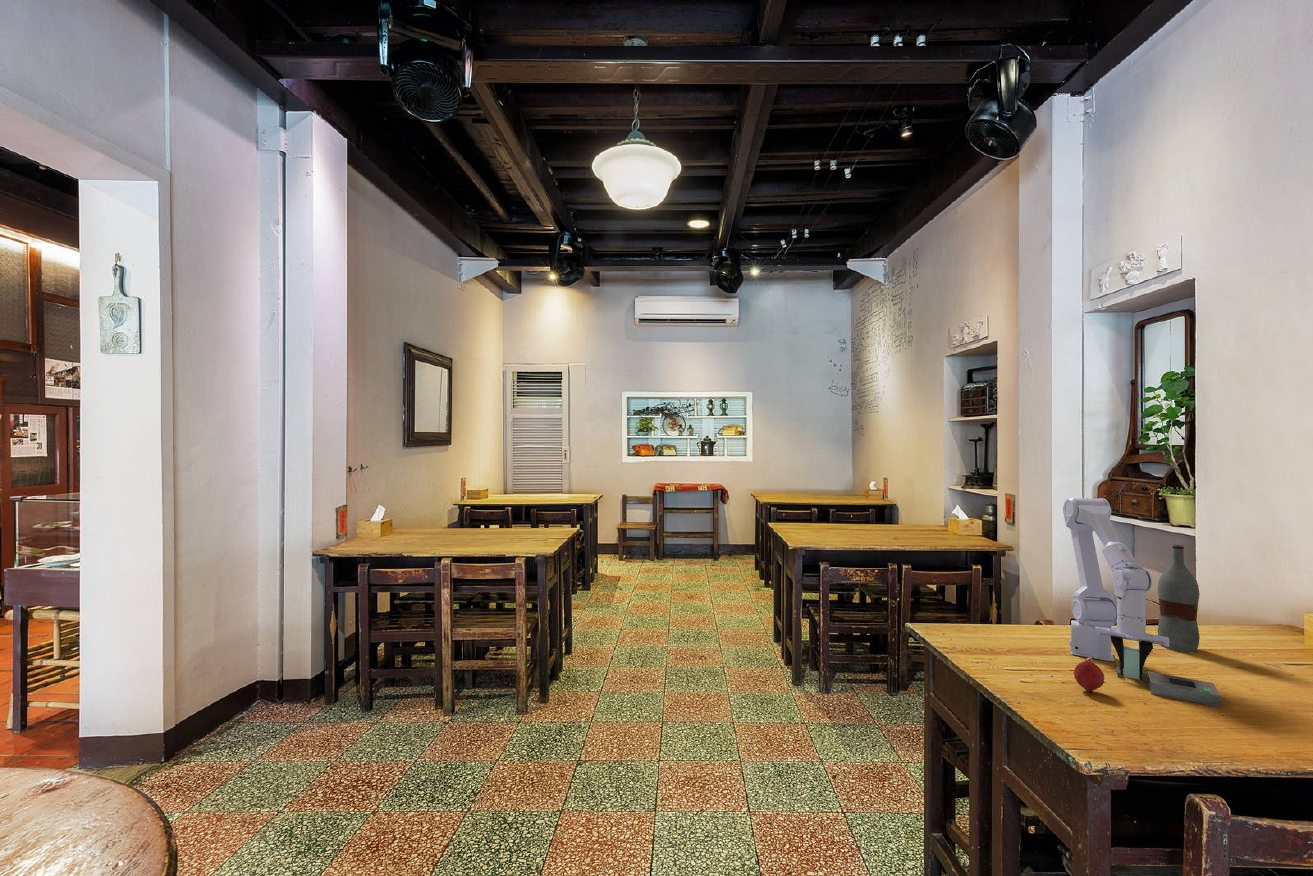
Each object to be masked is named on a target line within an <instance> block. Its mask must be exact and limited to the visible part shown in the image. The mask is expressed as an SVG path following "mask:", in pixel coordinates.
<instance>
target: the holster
mask: <svg viewBox="0 0 1313 876" xmlns="http://www.w3.org/2000/svg"><path fill="white" fill-rule="evenodd" d="M1121 673H1123V668H1121V667H1120V665H1116V675H1117V678H1121V677H1122V676H1121ZM1139 676H1141V677H1142V681H1143V682H1144V683H1147V684H1148V682H1147V674H1146V671H1145V670H1143V672H1140V671H1139Z"/></svg>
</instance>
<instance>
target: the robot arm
mask: <svg viewBox="0 0 1313 876" xmlns="http://www.w3.org/2000/svg"><path fill="white" fill-rule="evenodd" d="M1062 511H1063V512H1062V513H1063V519H1064V522H1065V526H1066V528H1068V529H1070V535H1071V541H1072V546H1073V551H1074V556H1075V563H1076V568H1077V573H1078V577H1079V578H1078V579H1079V584H1080V588H1079V589H1077V590H1076V591H1074V592H1073V593H1072V594H1071V613H1072V615H1073V617H1074V618H1075V619H1074V620H1073V619H1072V620H1070V621H1071V622H1070V623H1071V624H1070V628H1071V629H1070V634H1071V635H1070V637H1071V638H1070V639H1069V647H1071V648H1070V649H1071V650H1070V654H1071V655H1073V656H1080V657H1085V658H1092V659H1096V660H1101V661H1108V662H1115V658H1114V653H1113V652H1112V649H1113V648H1112V646H1113V647H1114V649H1115V652H1116V654H1117V657H1118V660H1119V666H1120V667H1121V668H1124V658H1123V648H1124V646H1125V645H1124V644H1125V643H1124V640H1128V641H1134V642H1138V649H1139V671H1140V672H1143V671H1144V666H1145V663H1146V660H1147V659H1148V657H1149V656H1150V654H1151V653H1152V651H1153V649H1154V645H1158V646H1161V645H1163V646H1166V647H1169V638H1168V637H1163V636H1158V634H1153V633H1149V632H1147V621H1146V620H1147V618H1146V617H1147V615H1146V613H1147V603H1146V602H1147V598H1146V597H1147V592H1149V591H1150V590H1151V588H1152V585H1153V579H1152V576H1151V574H1150V572H1149V570H1147V568H1145V567H1143V566H1142V565H1141V564H1139V563H1137V561H1136V559H1135V557H1134V555H1133V554H1132V551H1131V550H1130V548H1129V547H1128V545H1126V544H1125V543H1122V542H1120V540H1119V537H1118V535H1117V533H1116V530H1115V527H1114V526H1113V524H1112V521H1111V516H1112V507H1111V504H1110V502H1109V501H1108V500H1107V499H1106V498H1103V497H1099V498H1091V497H1090V498H1084V497H1068V498H1066V500H1065V501H1064V503H1063V507H1062ZM1094 532H1095V534H1096V536H1097V537H1098V538H1099V540H1100V541H1101V543H1102V544H1103V546H1104V547H1103V549H1102V552H1101V553H1102V555H1103V556H1104V559H1105V560H1106V562H1107V564H1108V566H1109V568H1110V569H1111V571H1112V575H1111V576H1110V577H1111V578H1110V579H1111V583H1112V585H1113V589H1114V590H1113V591H1114V594H1113V593H1111V592H1110V591H1109V590H1107V589H1105V588H1104V586H1103V585H1104V584H1103V580H1102V576H1101V575H1102V574H1101V570H1100V564H1099V560H1098V554H1097V551H1096V545H1095V544H1096V543H1095V539H1094V535H1093V533H1094ZM1115 596H1116V597H1115ZM1115 598H1116V599H1115ZM1115 624H1116V628H1115Z"/></svg>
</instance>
